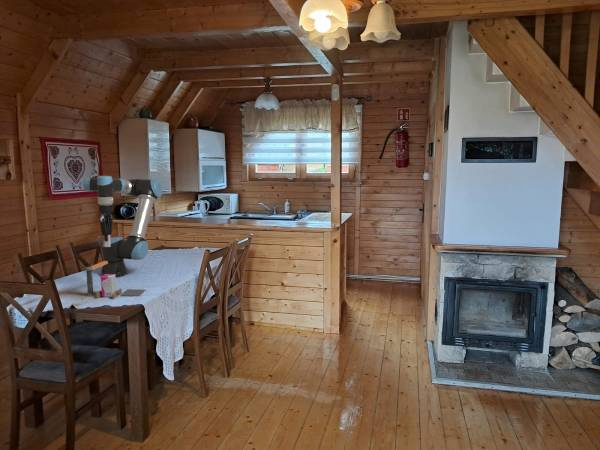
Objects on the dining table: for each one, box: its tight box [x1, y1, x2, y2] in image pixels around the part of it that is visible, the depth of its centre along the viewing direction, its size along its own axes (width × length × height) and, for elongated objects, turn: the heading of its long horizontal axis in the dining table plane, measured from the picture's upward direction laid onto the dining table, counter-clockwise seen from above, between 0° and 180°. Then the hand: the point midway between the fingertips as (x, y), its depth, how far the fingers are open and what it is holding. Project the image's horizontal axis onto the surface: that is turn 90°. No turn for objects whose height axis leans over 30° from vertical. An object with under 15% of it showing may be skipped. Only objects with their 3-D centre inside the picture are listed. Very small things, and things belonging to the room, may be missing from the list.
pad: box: [119, 288, 146, 297], centre depth 246 cm, size 10×10×1 cm
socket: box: [86, 270, 123, 300], centre depth 240 cm, size 10×16×14 cm, turn 89°
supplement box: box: [100, 274, 117, 298], centre depth 240 cm, size 6×6×12 cm
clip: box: [85, 260, 108, 272], centre depth 245 cm, size 3×17×2 cm, turn 169°
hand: (107, 246), depth 249 cm, fingers closed
